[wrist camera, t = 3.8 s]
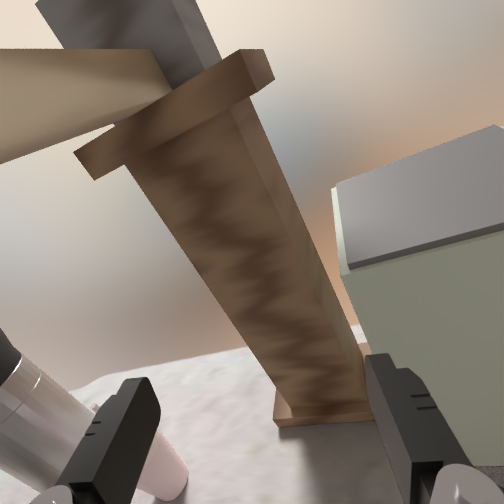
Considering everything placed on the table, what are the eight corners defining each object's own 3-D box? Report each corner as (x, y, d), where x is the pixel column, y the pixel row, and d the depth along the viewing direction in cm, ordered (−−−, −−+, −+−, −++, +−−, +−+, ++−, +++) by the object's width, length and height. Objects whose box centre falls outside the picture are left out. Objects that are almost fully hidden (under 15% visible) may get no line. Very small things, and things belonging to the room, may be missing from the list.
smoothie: (202, 495, 31) (114, 419, 24) (146, 531, 30) (43, 463, 24) (195, 438, 36) (123, 365, 30) (148, 468, 36) (65, 400, 30)
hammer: (-116, 220, 9) (-460, -76, 6) (148, 116, 23) (86, 12, 20) (26, 113, 6) (-462, -519, 3) (226, 69, 20) (168, -59, 17)
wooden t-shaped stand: (278, 427, 33) (73, 152, 19) (284, 364, 39) (135, 125, 25) (395, 418, 28) (239, 49, 14) (380, 349, 35) (263, 49, 21)
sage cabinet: (419, 466, 25) (337, 270, 16) (390, 347, 34) (329, 184, 25) (616, 464, 20) (665, 183, 11) (518, 328, 30) (500, 120, 21)
